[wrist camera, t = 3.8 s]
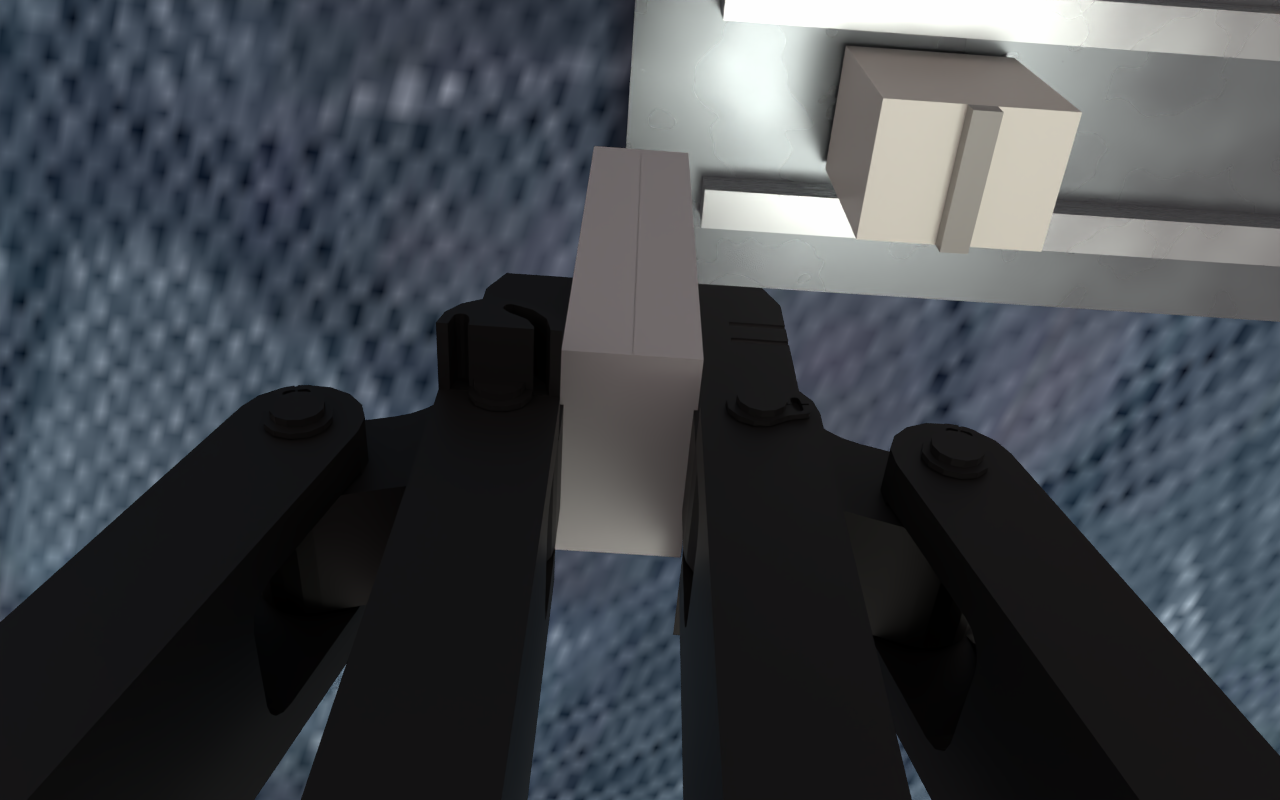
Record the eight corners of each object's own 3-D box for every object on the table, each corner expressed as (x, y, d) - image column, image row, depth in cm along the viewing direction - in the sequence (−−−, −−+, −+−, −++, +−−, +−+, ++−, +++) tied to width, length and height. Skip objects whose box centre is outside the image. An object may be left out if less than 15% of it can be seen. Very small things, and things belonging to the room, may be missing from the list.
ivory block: (825, 168, 26) (859, 246, 22) (846, 45, 24) (887, 104, 20) (983, 179, 26) (1047, 259, 22) (1014, 58, 24) (1089, 118, 20)
